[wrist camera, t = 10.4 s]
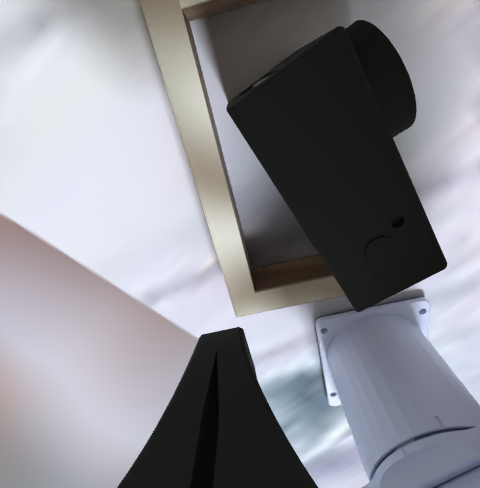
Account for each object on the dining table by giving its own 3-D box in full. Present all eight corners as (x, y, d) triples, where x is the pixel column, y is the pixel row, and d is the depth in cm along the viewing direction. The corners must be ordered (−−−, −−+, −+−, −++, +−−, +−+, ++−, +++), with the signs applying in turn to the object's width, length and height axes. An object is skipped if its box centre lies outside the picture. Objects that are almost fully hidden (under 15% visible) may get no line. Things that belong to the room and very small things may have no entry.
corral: (396, 257, 21) (418, 280, 18) (235, 291, 22) (236, 317, 19) (392, -81, 13) (428, -119, 11) (147, -9, 14) (130, -30, 12)
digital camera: (398, 201, 19) (480, 255, 13) (319, 246, 20) (359, 316, 14) (319, 33, 15) (382, -7, 9) (228, 102, 16) (226, 109, 10)
